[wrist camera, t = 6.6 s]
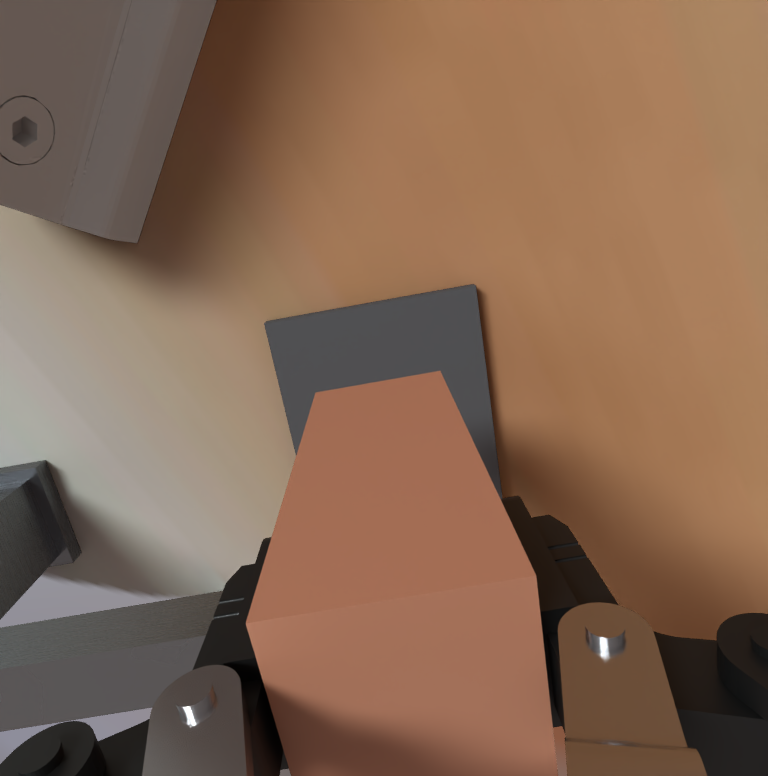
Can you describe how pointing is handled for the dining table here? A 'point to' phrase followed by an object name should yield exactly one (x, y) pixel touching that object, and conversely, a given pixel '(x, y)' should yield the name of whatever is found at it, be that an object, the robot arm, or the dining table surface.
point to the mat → (388, 356)
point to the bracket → (80, 623)
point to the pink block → (400, 599)
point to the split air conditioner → (92, 105)
